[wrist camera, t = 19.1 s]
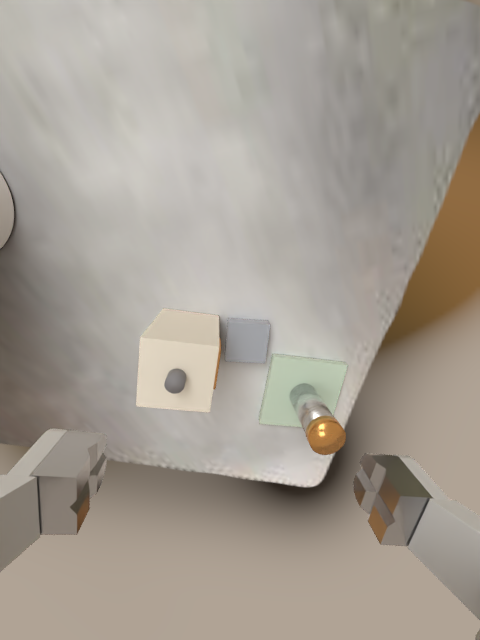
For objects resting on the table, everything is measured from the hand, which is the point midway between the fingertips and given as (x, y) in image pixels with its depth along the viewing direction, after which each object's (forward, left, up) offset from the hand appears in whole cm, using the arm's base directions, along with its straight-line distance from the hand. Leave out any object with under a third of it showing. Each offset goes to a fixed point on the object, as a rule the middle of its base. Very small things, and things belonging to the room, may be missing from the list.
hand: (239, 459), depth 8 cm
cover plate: (+4, -7, -32) cm, 33 cm away
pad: (+15, -15, -31) cm, 38 cm away
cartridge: (+15, -15, -30) cm, 37 cm away
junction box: (-4, -8, -31) cm, 32 cm away
